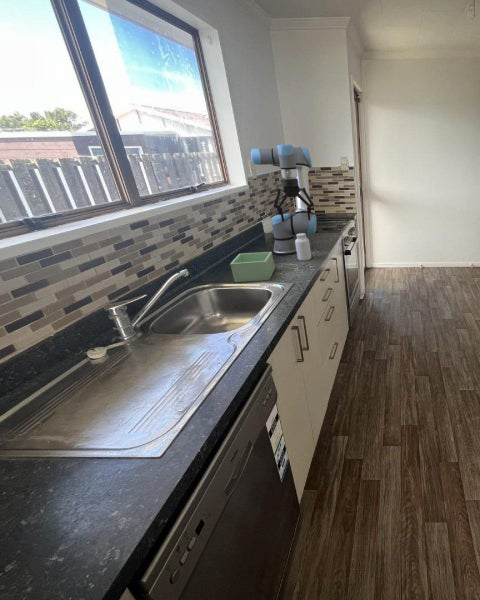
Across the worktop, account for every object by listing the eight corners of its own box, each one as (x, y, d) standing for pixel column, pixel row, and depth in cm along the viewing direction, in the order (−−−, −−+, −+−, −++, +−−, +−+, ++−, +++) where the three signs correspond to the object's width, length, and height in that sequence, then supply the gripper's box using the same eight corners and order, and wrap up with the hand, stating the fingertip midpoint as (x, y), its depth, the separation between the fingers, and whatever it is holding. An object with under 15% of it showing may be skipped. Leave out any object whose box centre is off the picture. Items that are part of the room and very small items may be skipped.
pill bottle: (295, 260, 194) (291, 235, 188) (303, 256, 201) (299, 232, 194) (306, 261, 191) (302, 236, 185) (314, 257, 198) (311, 233, 192)
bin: (243, 271, 178) (239, 253, 174) (274, 268, 181) (271, 251, 177) (234, 282, 164) (230, 263, 159) (269, 279, 166) (265, 261, 162)
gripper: (262, 179, 160) (270, 223, 169) (314, 178, 163) (319, 220, 173) (265, 178, 166) (273, 219, 176) (315, 176, 170) (320, 217, 180)
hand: (296, 220), depth 174 cm, fingers open, 13 cm apart
